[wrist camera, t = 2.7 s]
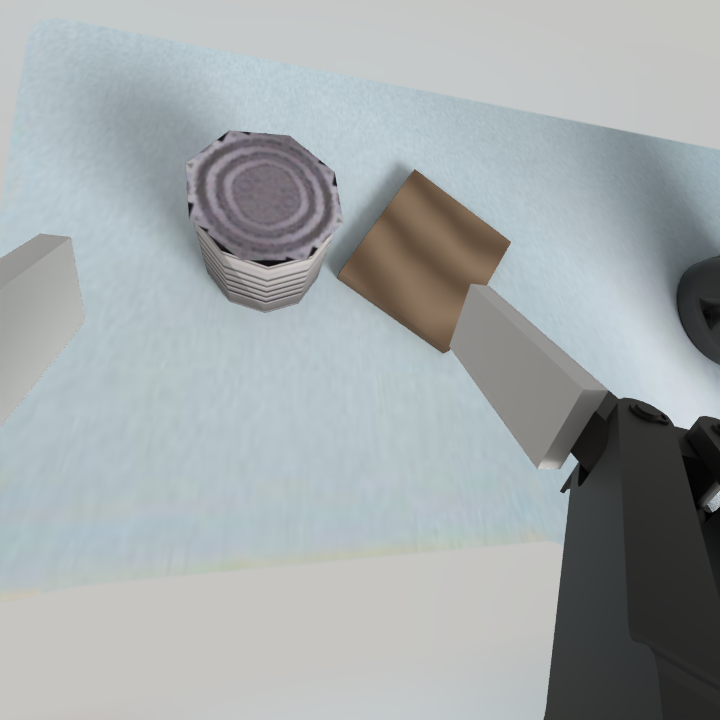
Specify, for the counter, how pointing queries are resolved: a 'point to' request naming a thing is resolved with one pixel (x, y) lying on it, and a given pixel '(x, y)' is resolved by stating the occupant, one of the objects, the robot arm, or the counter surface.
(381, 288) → the walnut board
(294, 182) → the can
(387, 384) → the counter surface
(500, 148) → the counter surface
